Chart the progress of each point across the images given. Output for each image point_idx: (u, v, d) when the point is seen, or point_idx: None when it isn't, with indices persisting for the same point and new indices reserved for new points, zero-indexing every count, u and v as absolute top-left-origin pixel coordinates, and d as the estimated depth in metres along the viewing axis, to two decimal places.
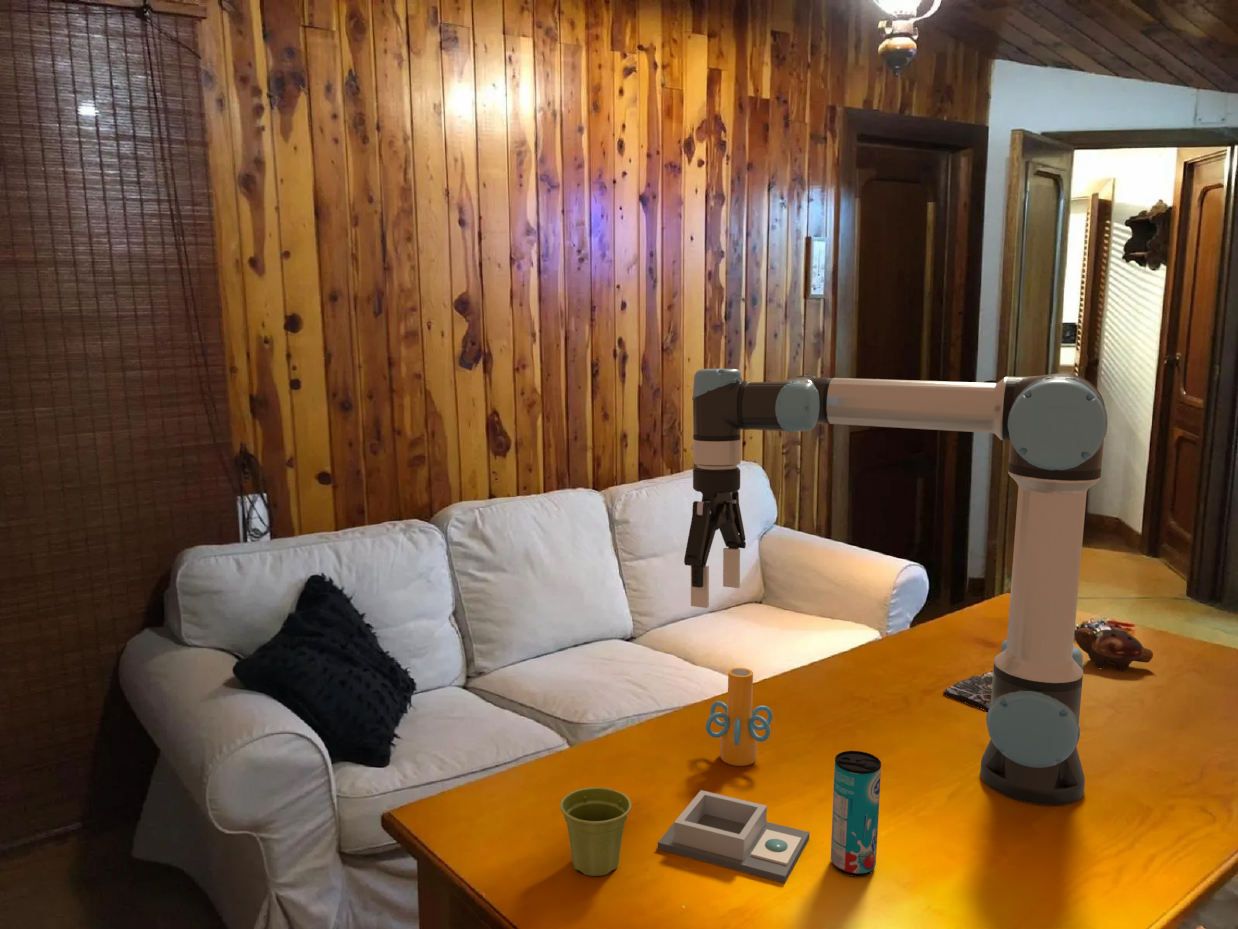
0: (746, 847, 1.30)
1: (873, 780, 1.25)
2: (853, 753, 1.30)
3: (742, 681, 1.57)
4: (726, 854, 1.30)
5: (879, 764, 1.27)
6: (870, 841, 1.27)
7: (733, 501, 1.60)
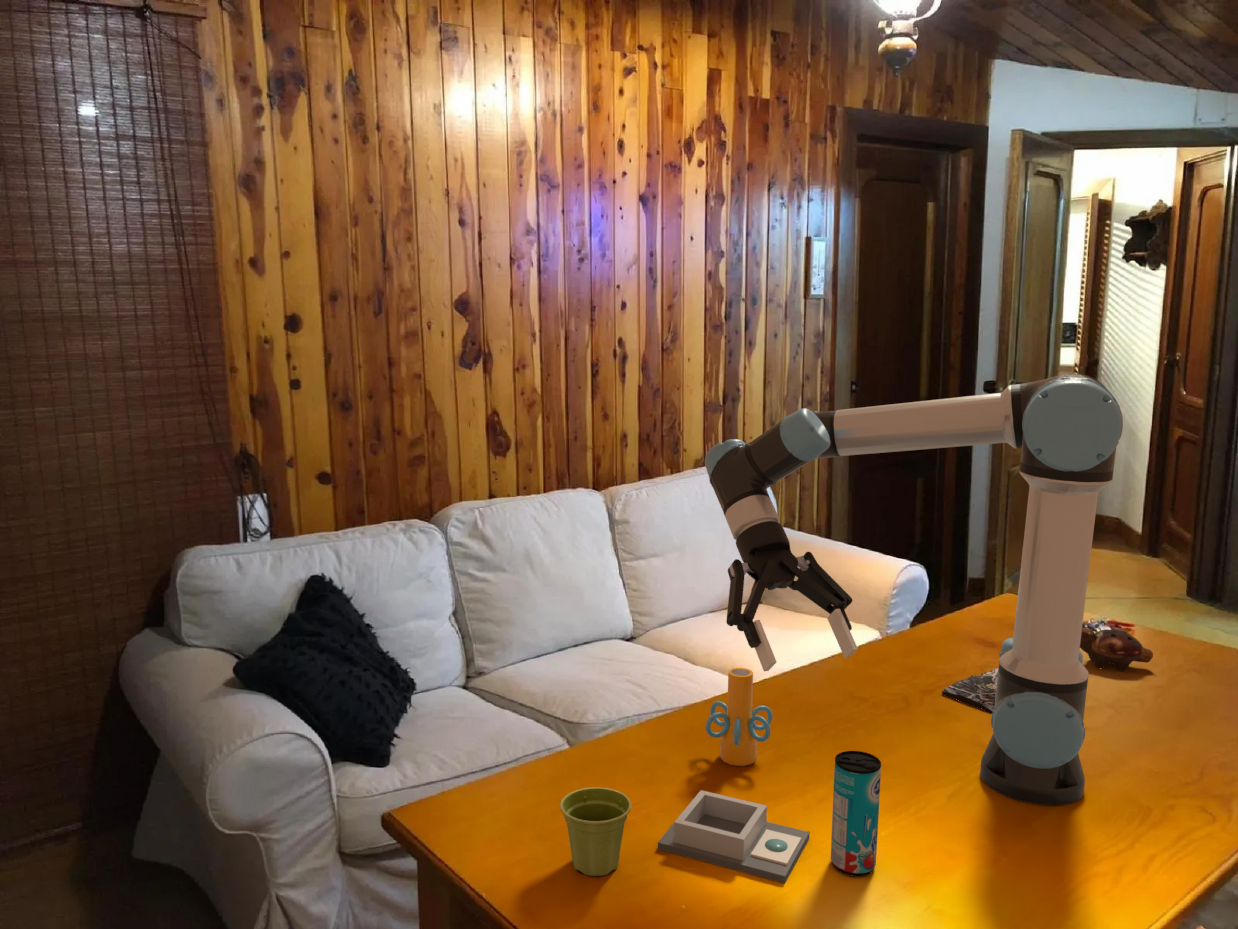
0: (746, 847, 1.30)
1: (873, 780, 1.25)
2: (853, 753, 1.30)
3: (742, 681, 1.57)
4: (726, 854, 1.30)
5: (879, 764, 1.27)
6: (870, 841, 1.27)
7: (805, 562, 1.45)
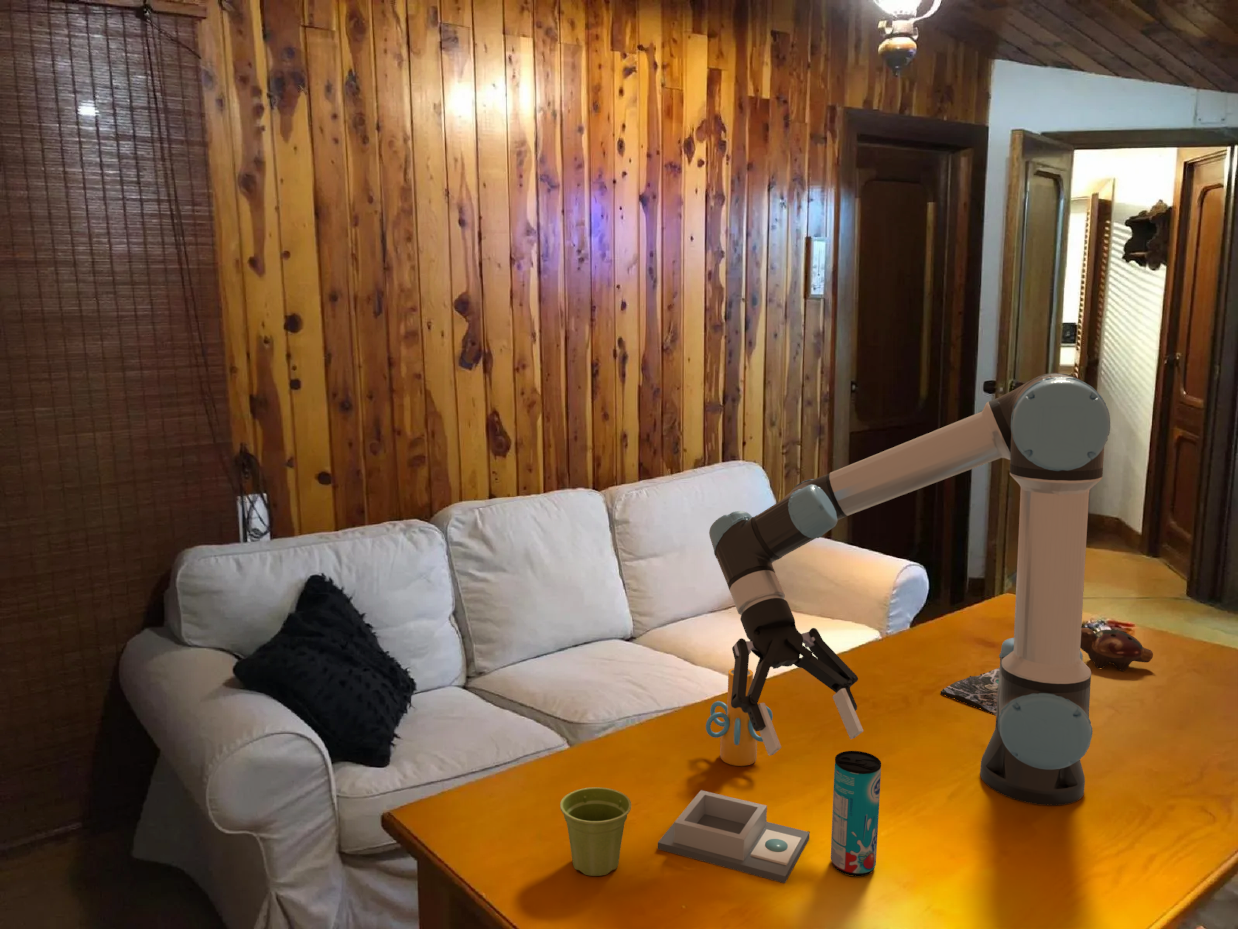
0: (746, 847, 1.30)
1: (873, 780, 1.25)
2: (853, 753, 1.30)
3: None
4: (726, 854, 1.30)
5: (879, 764, 1.27)
6: (870, 841, 1.27)
7: (810, 639, 1.44)
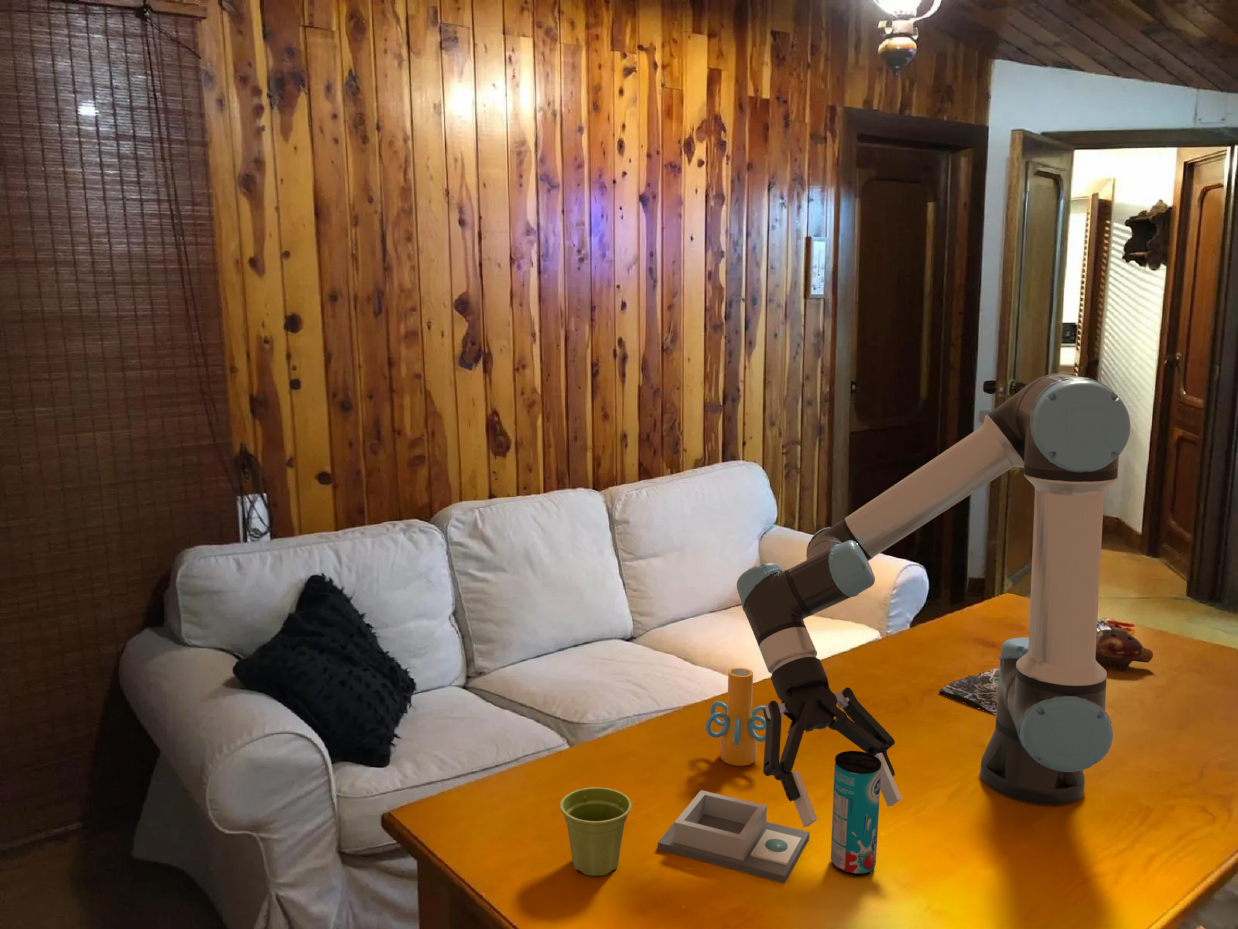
0: (746, 847, 1.30)
1: (873, 780, 1.25)
2: (853, 753, 1.30)
3: (742, 681, 1.57)
4: (726, 854, 1.30)
5: (879, 764, 1.27)
6: (870, 841, 1.27)
7: (845, 699, 1.38)
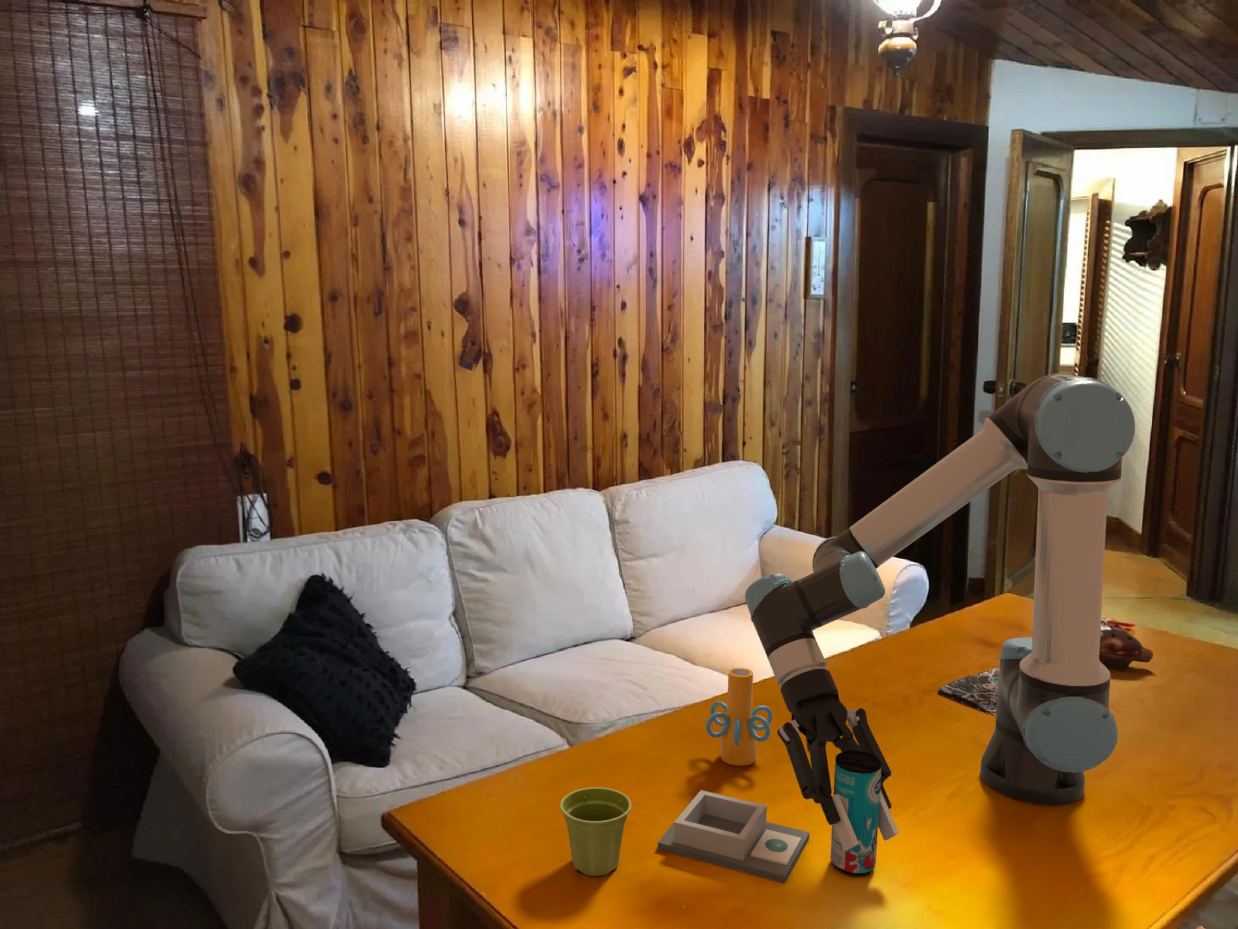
0: (746, 847, 1.30)
1: (873, 780, 1.25)
2: (853, 753, 1.30)
3: (742, 681, 1.57)
4: (726, 854, 1.30)
5: (879, 764, 1.27)
6: (870, 841, 1.27)
7: (855, 718, 1.36)
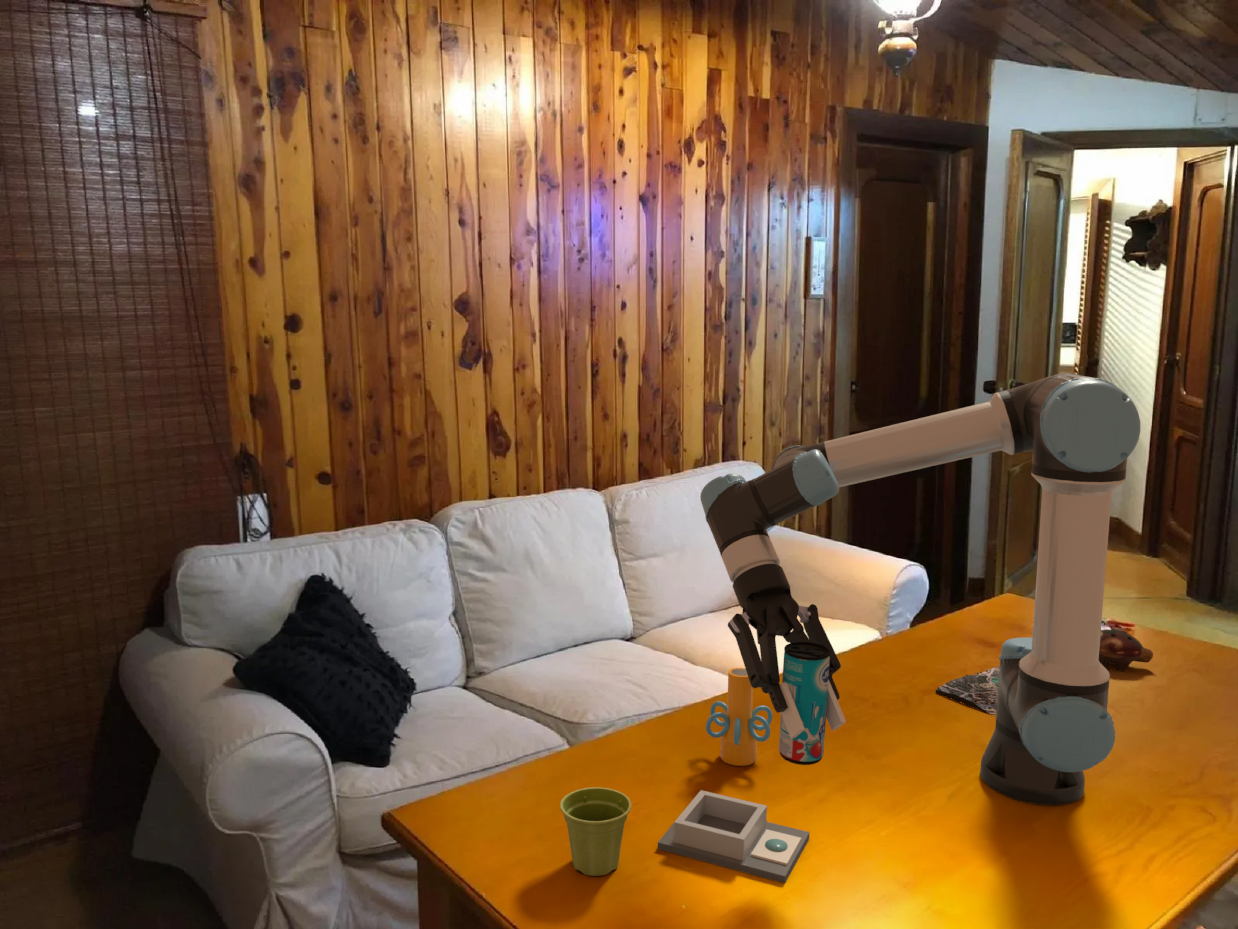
0: (746, 847, 1.30)
1: (821, 667, 1.25)
2: (803, 644, 1.30)
3: (742, 681, 1.57)
4: (726, 854, 1.30)
5: (828, 652, 1.27)
6: (818, 730, 1.27)
7: (806, 613, 1.36)
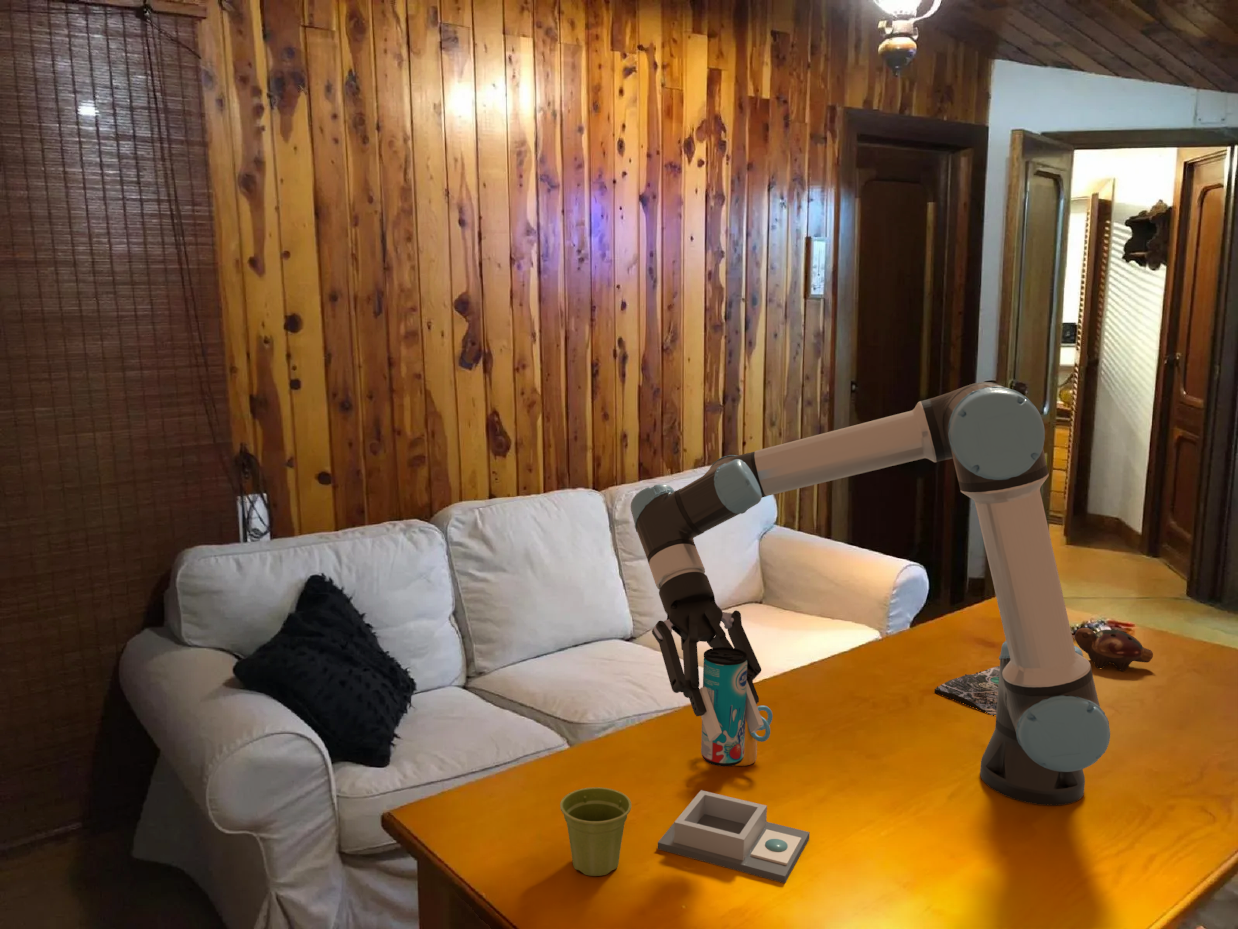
0: (746, 847, 1.30)
1: (738, 671, 1.30)
2: (723, 649, 1.34)
3: None
4: (726, 854, 1.30)
5: (745, 657, 1.31)
6: (736, 732, 1.31)
7: (729, 619, 1.40)
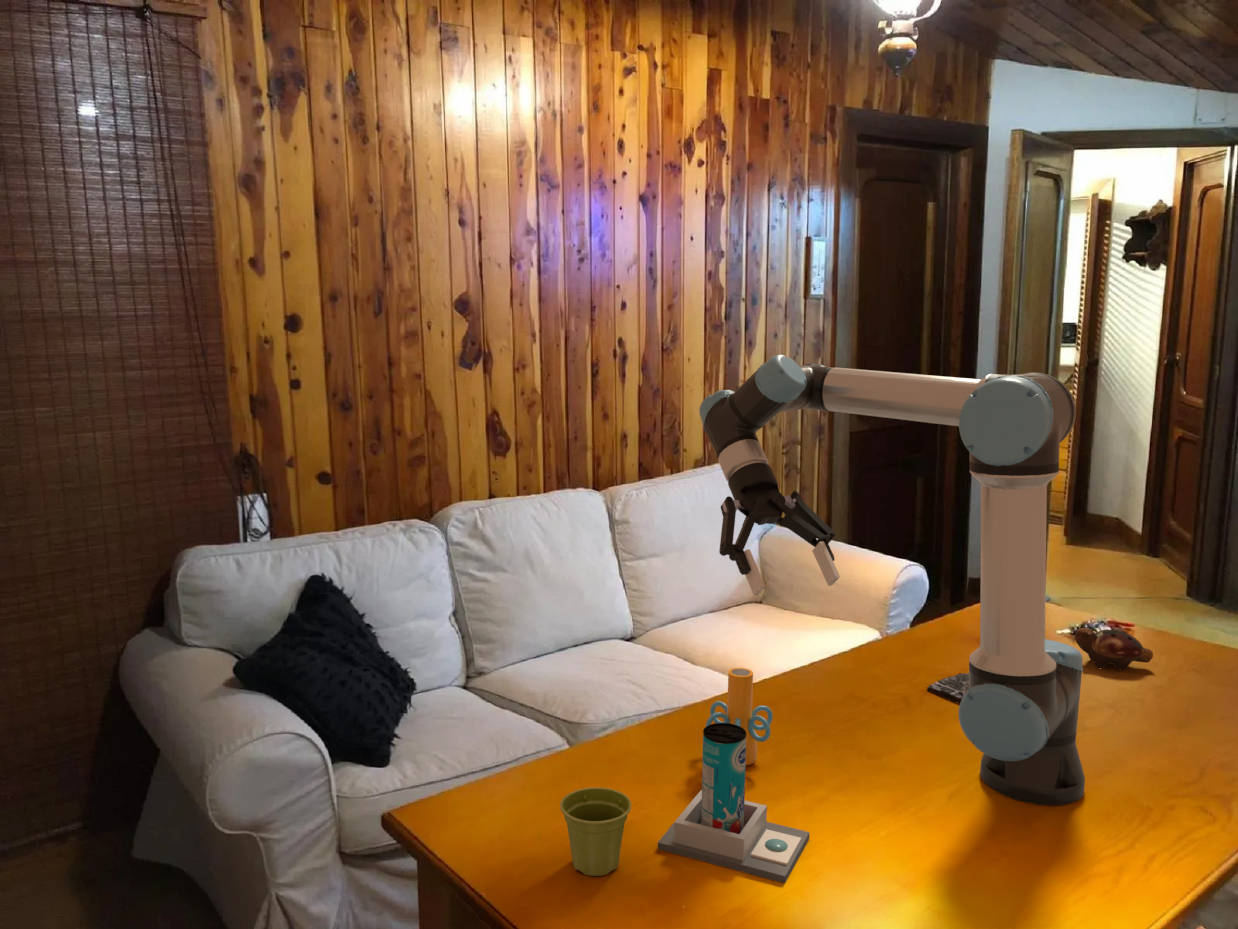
0: (746, 847, 1.30)
1: (737, 749, 1.31)
2: (722, 725, 1.36)
3: (742, 681, 1.57)
4: (726, 854, 1.30)
5: (744, 735, 1.33)
6: (736, 809, 1.33)
7: (792, 500, 1.58)
